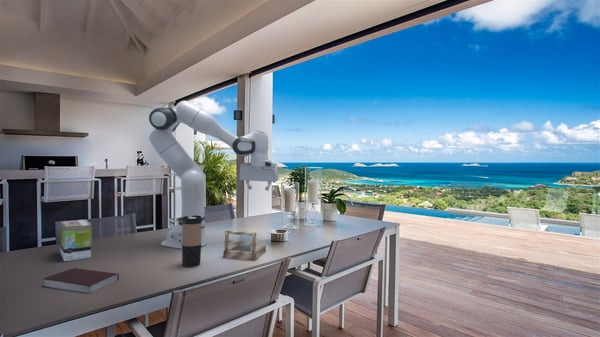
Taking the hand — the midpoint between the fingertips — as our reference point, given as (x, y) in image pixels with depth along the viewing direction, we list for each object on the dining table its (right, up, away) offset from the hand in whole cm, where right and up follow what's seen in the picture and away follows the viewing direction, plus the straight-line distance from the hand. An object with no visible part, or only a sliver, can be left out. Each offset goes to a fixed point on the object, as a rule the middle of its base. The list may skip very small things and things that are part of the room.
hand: (258, 189), depth 167 cm
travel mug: (-24, -29, -31) cm, 49 cm away
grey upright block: (-4, -29, -15) cm, 33 cm away
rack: (-4, -29, -15) cm, 33 cm away
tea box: (-78, -28, -23) cm, 86 cm away
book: (-55, -30, -53) cm, 82 cm away
